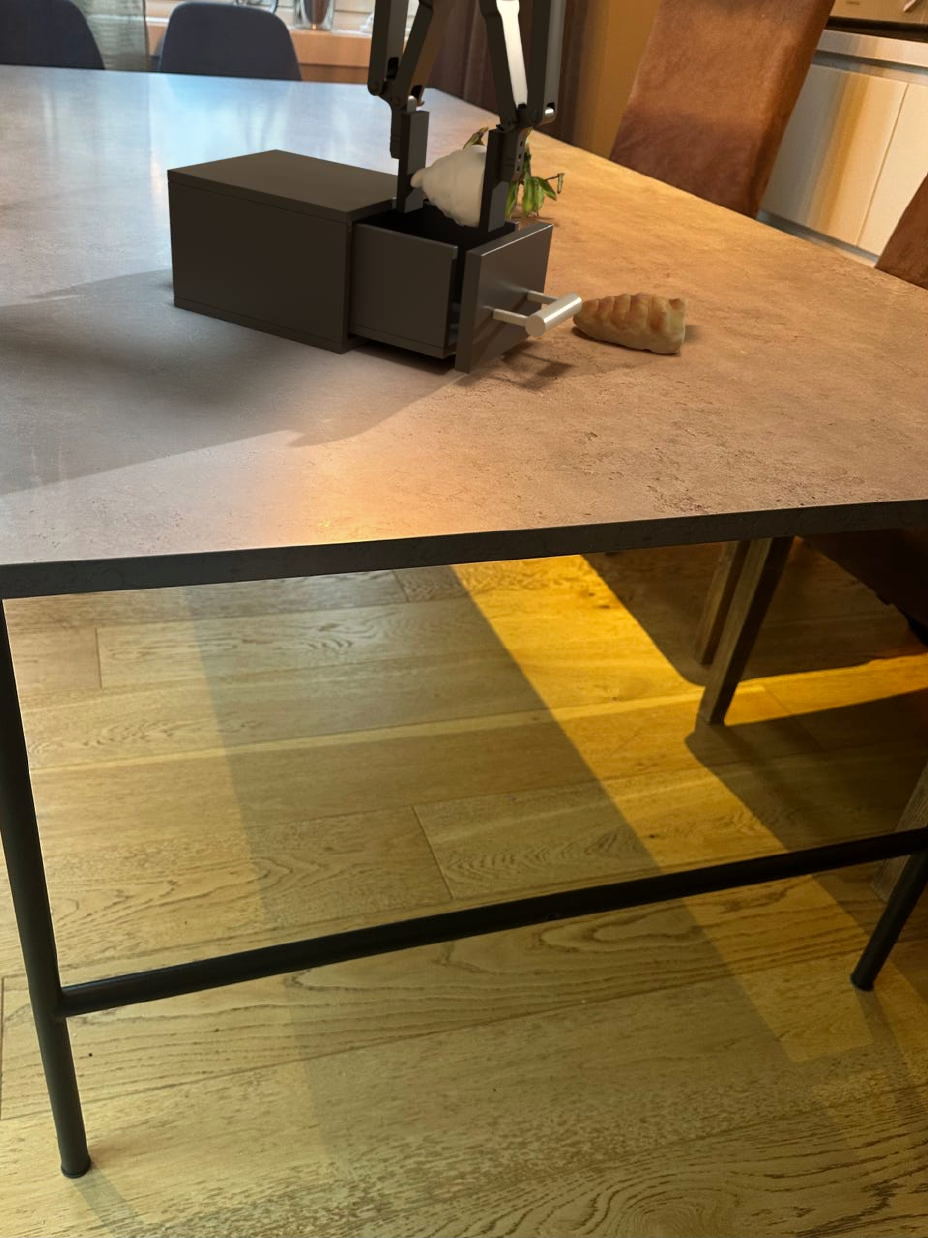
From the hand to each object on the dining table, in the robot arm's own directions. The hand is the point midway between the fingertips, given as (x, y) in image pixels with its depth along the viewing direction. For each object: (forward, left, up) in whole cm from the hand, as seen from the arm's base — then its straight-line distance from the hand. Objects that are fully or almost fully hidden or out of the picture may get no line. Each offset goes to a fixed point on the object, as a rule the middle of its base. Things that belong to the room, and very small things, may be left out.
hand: (449, 217), depth 76 cm
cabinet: (-12, 0, -9) cm, 16 cm away
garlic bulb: (0, 0, 0) cm, 0 cm away
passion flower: (-15, +45, -10) cm, 49 cm away
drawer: (+1, 0, -9) cm, 9 cm away
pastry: (+12, +13, -10) cm, 20 cm away
